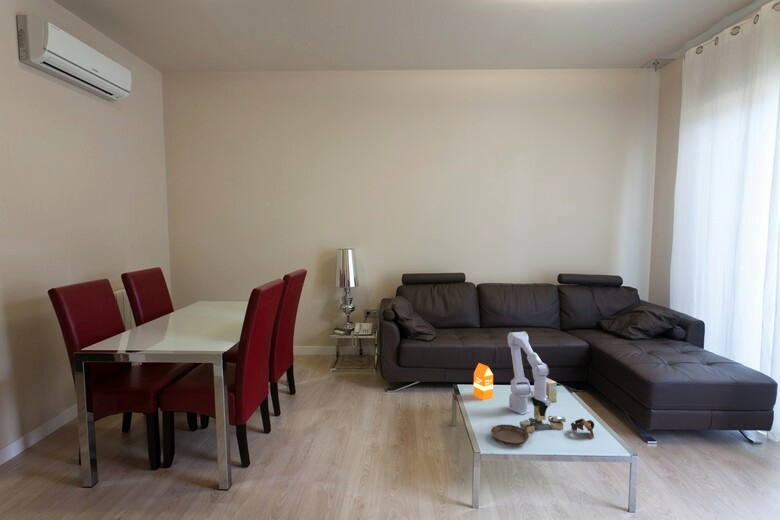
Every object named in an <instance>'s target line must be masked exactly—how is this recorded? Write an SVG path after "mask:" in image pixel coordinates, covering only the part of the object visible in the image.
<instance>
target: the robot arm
mask: <svg viewBox="0 0 780 520" xmlns="http://www.w3.org/2000/svg"><path fill="white" fill-rule="evenodd" d="M506 337H507V344H508V347H509V348H510V351H511V352H510V353H511V358H512V360H511V361H512V366H513V367H512V368H513V373H514V374H513V375H514V377H513V379H511V381H510V392H511V393H510V394H509V398H508V408H507V409H509V410H511V411H513V412H515V413H517V414H520V415H526V414H527V413H529V412H531V409H529V408H528V397H529V395H531V396H532V397H530V400H531V402H532V405H533V407H534V406H539V410H540V416H545V412H547V409H548V408H549V407H550V406H551V403H550V401H549V400H548V399H547V398H548V396H547V395H546V377H547V376H548V375H549V374H550V368H549V366H548V364H546V363H544V362H542V360H541V358H540V357H539V354H537V353H536V352H534V351H533V349H532V347H531V344H530V343H529V340H530V339H529V335H528V333H527V332H526V331H515V332H512V331H511V332H509V333H508V335H507V336H506ZM521 348H522V350H523V351H524V352H525V354H526V355H527V356H526V360H527V361H528V363H529V365H530V366H531V368H532V369H531V371H532V372H531V373H532V377H533V380H534V381H533V382H534V383H533V387H534V388H533V389H534V390H532V386H531V384H530V380H529V379H528V378H526V377H525V373H524V368H523V367H524V366H523V359H522V353H521Z"/></svg>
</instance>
